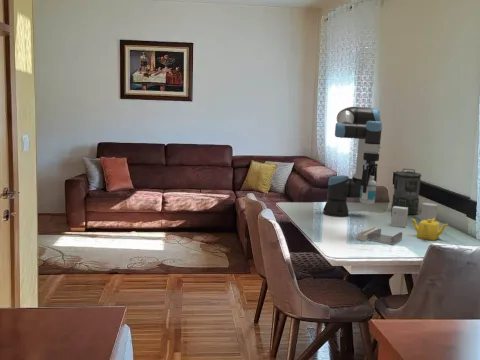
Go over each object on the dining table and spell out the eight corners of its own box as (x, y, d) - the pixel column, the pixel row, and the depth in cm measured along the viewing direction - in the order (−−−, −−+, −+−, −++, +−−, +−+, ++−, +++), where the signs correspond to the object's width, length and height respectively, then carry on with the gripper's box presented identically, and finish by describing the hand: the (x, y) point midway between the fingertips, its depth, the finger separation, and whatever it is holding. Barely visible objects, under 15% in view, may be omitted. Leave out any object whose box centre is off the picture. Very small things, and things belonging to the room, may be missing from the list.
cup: (436, 227, 304) (438, 206, 303) (421, 225, 306) (423, 204, 304) (434, 224, 312) (436, 203, 310) (419, 222, 314) (421, 202, 312)
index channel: (369, 240, 264) (369, 233, 263) (378, 235, 276) (378, 228, 275) (393, 245, 258) (394, 237, 257) (401, 239, 269) (402, 232, 269)
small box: (406, 225, 303) (408, 207, 301) (405, 227, 298) (407, 209, 296) (392, 223, 306) (393, 205, 305) (390, 225, 301) (392, 207, 300)
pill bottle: (357, 201, 272) (360, 174, 270) (372, 201, 272) (374, 175, 270) (361, 203, 264) (364, 176, 263) (376, 204, 265) (379, 177, 263)
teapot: (423, 241, 268) (425, 222, 267) (407, 234, 282) (409, 216, 281) (448, 241, 272) (450, 222, 271) (432, 234, 286) (434, 216, 284)
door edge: (357, 239, 264) (357, 232, 264) (370, 232, 281) (371, 226, 280) (364, 241, 262) (365, 234, 261) (378, 234, 279) (378, 227, 278)
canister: (390, 213, 338) (394, 168, 334) (392, 209, 353) (396, 166, 349) (416, 216, 333) (421, 171, 329) (417, 211, 347) (422, 168, 343)
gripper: (371, 154, 255) (367, 201, 258) (386, 152, 271) (381, 197, 274) (356, 152, 259) (352, 199, 262) (371, 151, 275) (367, 195, 278)
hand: (367, 198), depth 268 cm, fingers closed on pill bottle, 7 cm apart
